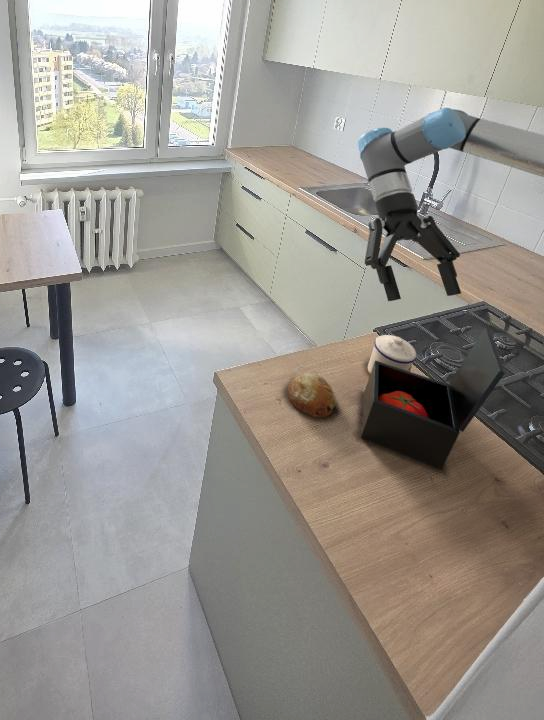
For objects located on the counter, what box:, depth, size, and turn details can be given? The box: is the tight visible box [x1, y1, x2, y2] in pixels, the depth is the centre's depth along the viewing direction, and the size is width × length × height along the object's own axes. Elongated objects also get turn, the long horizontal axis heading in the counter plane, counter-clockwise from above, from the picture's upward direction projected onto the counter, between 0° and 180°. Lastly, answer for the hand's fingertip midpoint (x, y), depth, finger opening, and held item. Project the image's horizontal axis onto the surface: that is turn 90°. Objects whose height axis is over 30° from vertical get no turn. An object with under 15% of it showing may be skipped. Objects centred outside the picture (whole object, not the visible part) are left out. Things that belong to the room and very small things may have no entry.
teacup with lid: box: [367, 334, 417, 374], centre depth 103 cm, size 12×9×12 cm
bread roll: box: [287, 372, 338, 418], centre depth 95 cm, size 10×10×8 cm
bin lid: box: [449, 327, 506, 432], centre depth 79 cm, size 16×13×1 cm
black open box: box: [360, 360, 461, 471], centre depth 87 cm, size 15×13×11 cm
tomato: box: [378, 391, 429, 418], centre depth 88 cm, size 9×10×8 cm
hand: (424, 297), depth 82 cm, fingers open, 13 cm apart
